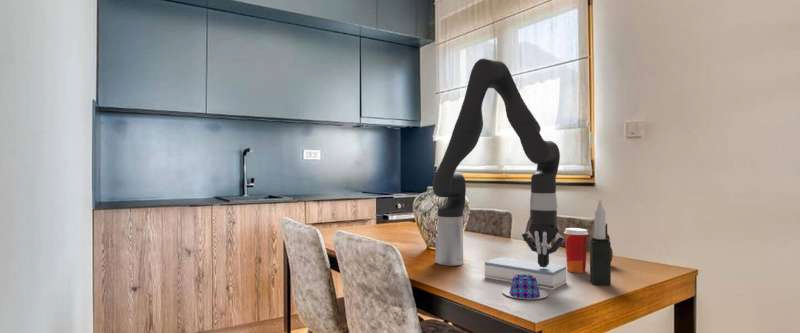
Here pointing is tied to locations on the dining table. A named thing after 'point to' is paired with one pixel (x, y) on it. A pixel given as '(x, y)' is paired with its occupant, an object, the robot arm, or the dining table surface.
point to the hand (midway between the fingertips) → (543, 266)
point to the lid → (525, 266)
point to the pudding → (524, 287)
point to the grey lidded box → (541, 279)
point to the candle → (600, 251)
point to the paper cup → (576, 249)
